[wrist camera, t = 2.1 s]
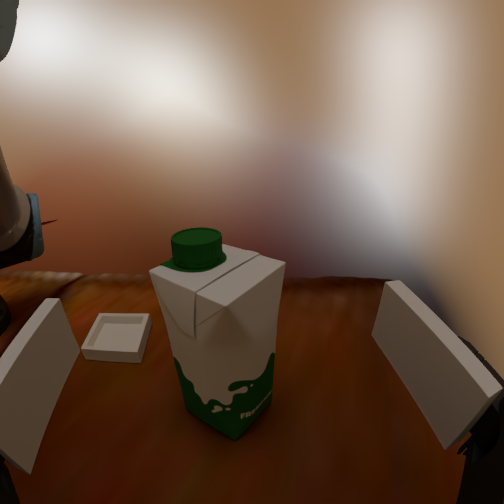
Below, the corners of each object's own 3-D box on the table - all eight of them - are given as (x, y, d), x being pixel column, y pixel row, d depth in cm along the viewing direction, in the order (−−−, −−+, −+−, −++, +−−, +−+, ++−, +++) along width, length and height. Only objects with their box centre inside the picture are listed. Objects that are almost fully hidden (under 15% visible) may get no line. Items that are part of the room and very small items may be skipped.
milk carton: (222, 369, 34) (211, 217, 26) (283, 399, 29) (299, 236, 22) (174, 409, 28) (133, 246, 20) (238, 452, 23) (226, 282, 15)
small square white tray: (85, 359, 33) (80, 348, 32) (102, 323, 41) (99, 313, 41) (141, 363, 34) (137, 352, 33) (151, 324, 42) (149, 313, 42)
